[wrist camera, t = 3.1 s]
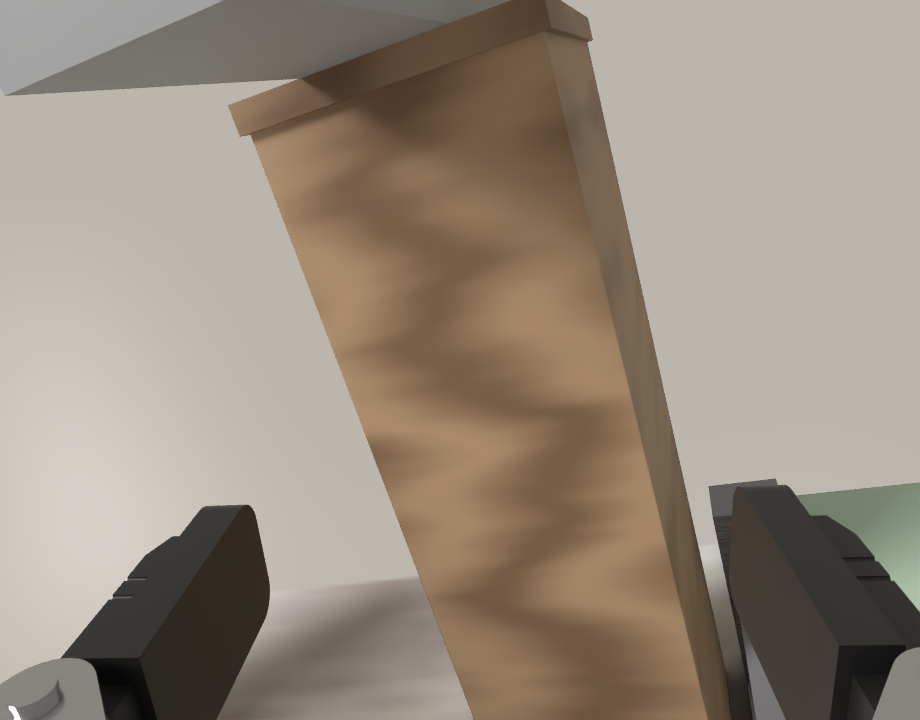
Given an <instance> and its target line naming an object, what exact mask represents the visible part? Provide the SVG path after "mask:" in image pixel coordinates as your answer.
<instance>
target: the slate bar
mask: <svg viewBox="0 0 920 720" xmlns="http://www.w3.org/2000/svg"><path fill="white" fill-rule="evenodd" d="M507 1H510V0H0V87H1V89H2V91H3V93H4V95H5V96H8V95H9V96H10V95H27V94H42V93H43V94H44V93H61V92H78V91H95V90H112V89H130V88H147V87H163V86H181V85H198V84H215V83H232V82H247V81H248V82H249V81H265V80H283V79H300V78H303V77H306V76H308V75H311V74H314V73H316V72H319V71H322V70H325V69H327V68H330V67H333V66H335V65H338V64H341V63H343V62H346V61H349V60H351V59H354V58H357V57H359V56H362V55H365V54H368V53H370V52H373V51H376V50H378V49H381V48H384V47H386V46H389V45H392V44H394V43H397V42H400V41H402V40H405V39H408V38H411V37H413V36H416V35H419V34H421V33H424V32H427V31H429V30H432V29H435V28H437V27H440V26H443V25H446V24H448V23H451V22H454V21H456V20H459V19H462V18H464V17H467V16H470V15H472V14H475V13H478V12H480V11H483V10H486V9H488V8H491V7H494V6H497V5H499V4H502V3H505V2H507Z"/></svg>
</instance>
